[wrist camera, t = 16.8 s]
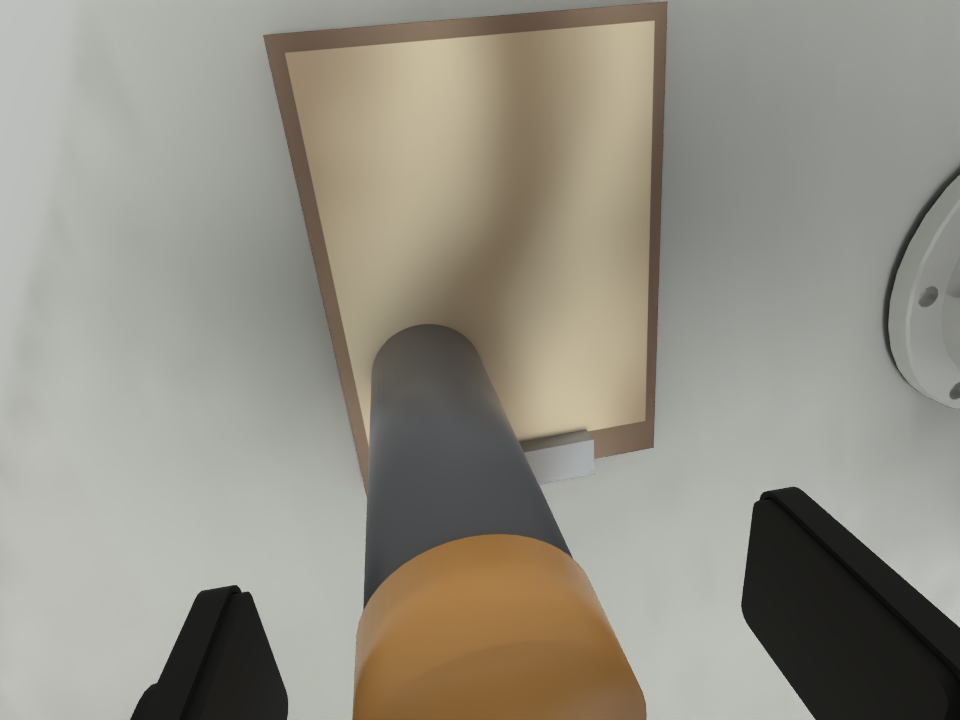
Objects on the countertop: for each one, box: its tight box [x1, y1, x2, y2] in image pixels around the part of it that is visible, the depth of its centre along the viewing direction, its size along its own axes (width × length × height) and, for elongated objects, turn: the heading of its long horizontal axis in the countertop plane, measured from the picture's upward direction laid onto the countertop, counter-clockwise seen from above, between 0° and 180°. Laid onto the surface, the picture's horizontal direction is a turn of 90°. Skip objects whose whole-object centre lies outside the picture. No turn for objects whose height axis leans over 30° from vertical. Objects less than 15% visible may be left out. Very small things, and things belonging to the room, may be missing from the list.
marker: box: [353, 324, 646, 720], centre depth 13 cm, size 4×4×13 cm
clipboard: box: [263, 2, 667, 495], centre depth 19 cm, size 12×16×2 cm
